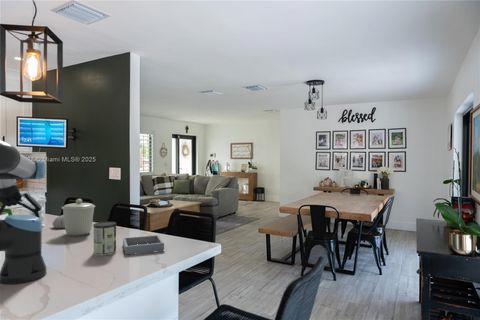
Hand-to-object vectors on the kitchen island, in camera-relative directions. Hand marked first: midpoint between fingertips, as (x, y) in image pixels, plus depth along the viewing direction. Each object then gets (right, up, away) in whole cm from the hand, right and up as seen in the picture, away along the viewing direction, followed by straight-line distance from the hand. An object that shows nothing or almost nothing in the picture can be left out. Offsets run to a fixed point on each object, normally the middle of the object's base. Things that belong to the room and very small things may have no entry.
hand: (20, 229), depth 145 cm
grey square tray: (+49, -14, +19) cm, 54 cm away
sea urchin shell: (-18, -13, +68) cm, 72 cm away
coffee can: (+33, -14, +11) cm, 37 cm away
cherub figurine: (-33, -13, +67) cm, 76 cm away
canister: (+1, -13, +49) cm, 51 cm away
